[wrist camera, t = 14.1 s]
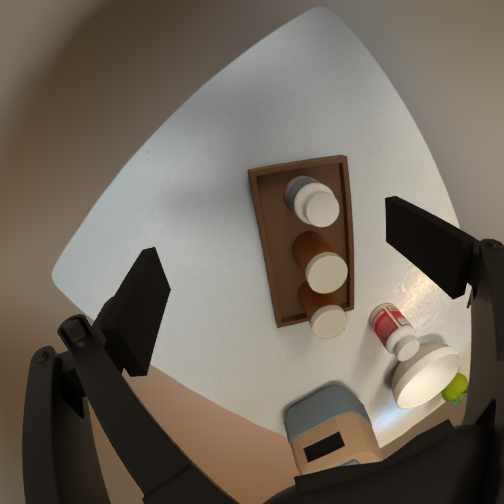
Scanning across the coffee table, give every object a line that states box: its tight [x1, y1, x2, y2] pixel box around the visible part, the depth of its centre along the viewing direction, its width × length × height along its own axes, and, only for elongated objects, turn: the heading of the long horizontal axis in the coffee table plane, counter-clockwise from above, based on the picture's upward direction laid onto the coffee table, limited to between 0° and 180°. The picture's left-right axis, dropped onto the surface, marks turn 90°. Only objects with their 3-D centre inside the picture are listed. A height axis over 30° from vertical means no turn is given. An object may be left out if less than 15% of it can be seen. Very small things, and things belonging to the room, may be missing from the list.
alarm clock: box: [284, 385, 383, 475], centre depth 49 cm, size 17×17×23 cm
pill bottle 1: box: [285, 176, 339, 227], centre depth 34 cm, size 5×5×9 cm
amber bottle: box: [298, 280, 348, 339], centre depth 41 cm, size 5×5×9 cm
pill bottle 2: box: [370, 303, 420, 361], centre depth 45 cm, size 6×6×11 cm
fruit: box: [442, 373, 468, 406], centre depth 60 cm, size 9×9×10 cm
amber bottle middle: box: [293, 231, 348, 293], centre depth 38 cm, size 5×5×9 cm
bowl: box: [392, 342, 461, 409], centre depth 53 cm, size 19×19×9 cm
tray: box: [248, 155, 354, 328], centre depth 41 cm, size 26×14×2 cm, turn 10°
